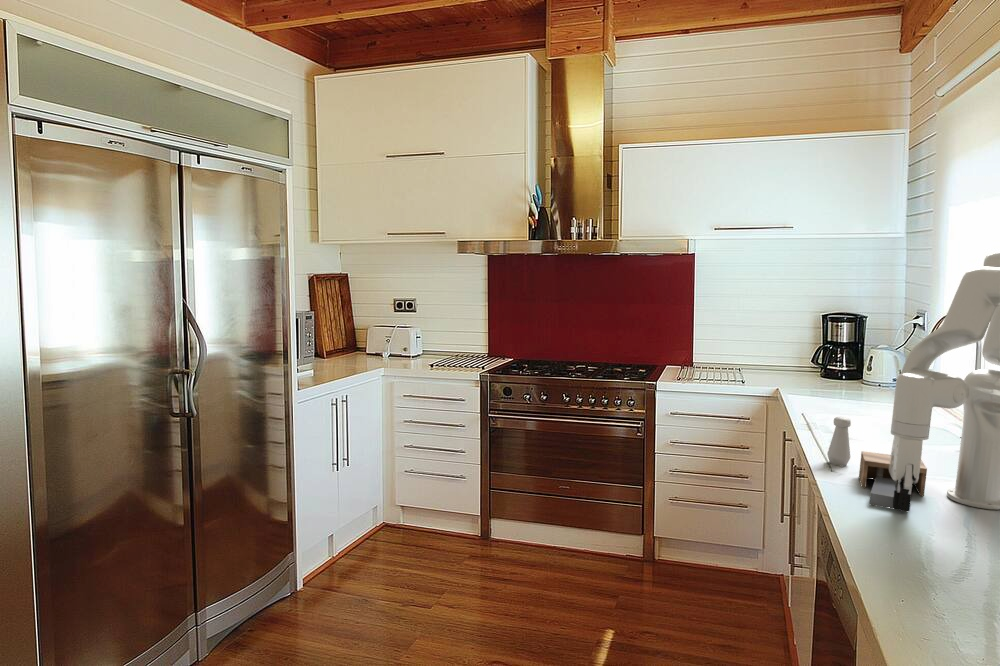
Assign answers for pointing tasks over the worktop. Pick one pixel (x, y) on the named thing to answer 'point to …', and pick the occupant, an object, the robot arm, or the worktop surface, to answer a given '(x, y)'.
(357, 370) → the worktop surface
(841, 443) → the salt shaker
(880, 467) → the open wooden box
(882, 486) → the board
